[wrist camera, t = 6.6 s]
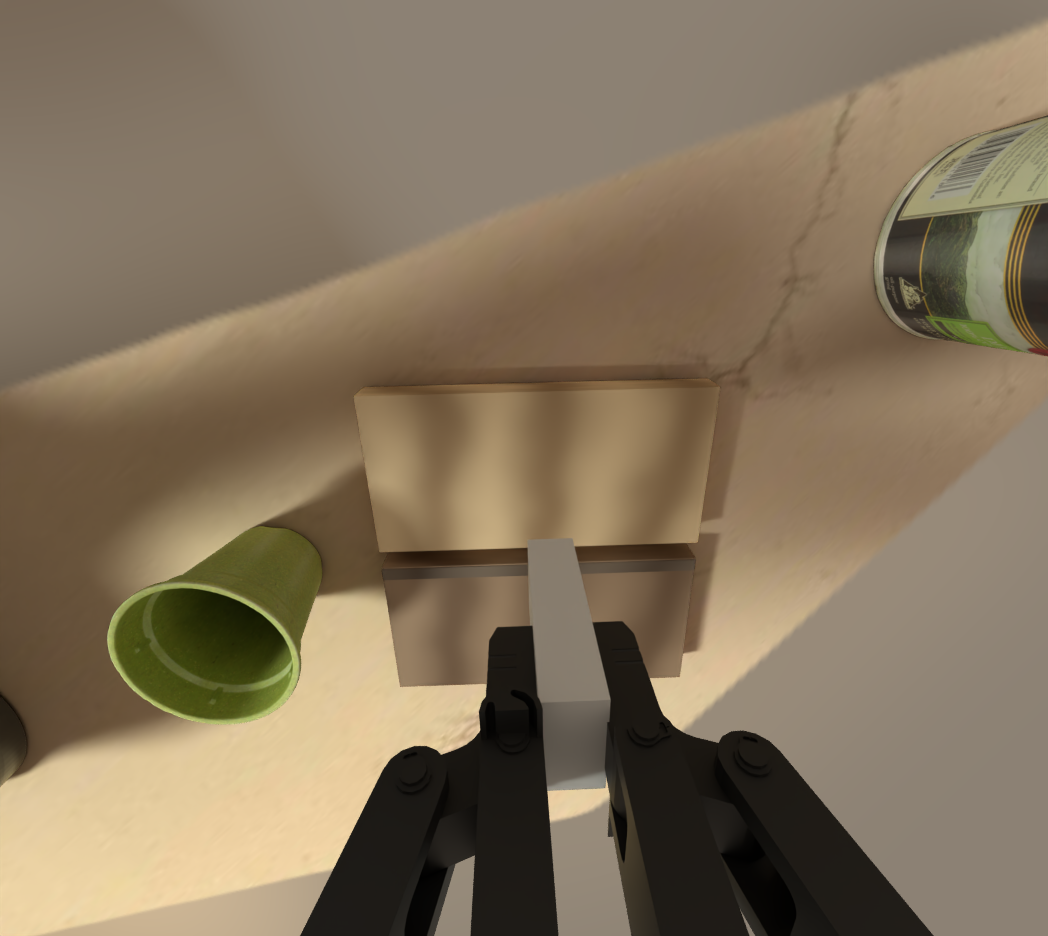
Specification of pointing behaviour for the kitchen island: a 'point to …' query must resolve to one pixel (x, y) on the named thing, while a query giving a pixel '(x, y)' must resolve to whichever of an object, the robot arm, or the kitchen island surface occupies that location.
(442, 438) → the oak plank
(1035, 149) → the coffee can
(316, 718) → the kitchen island surface
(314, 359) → the kitchen island surface
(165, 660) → the plant pot
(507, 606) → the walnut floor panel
